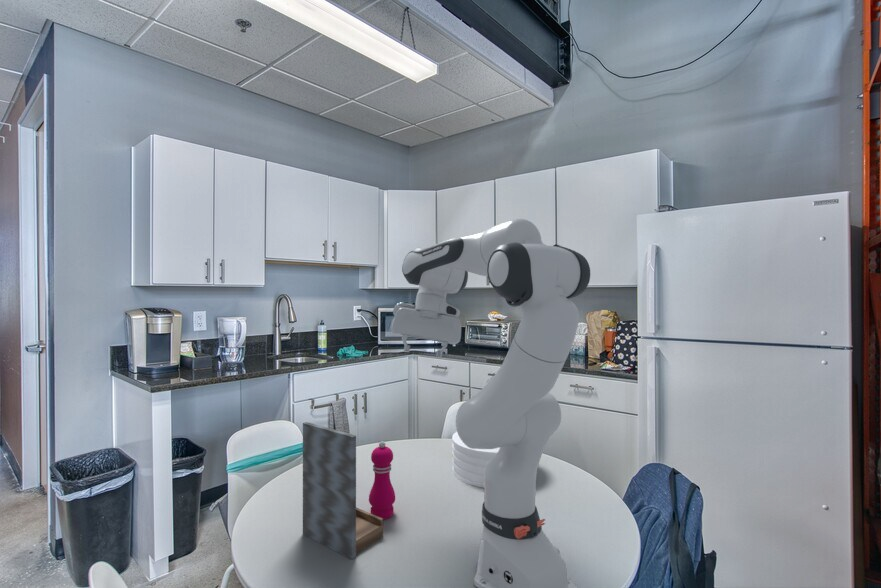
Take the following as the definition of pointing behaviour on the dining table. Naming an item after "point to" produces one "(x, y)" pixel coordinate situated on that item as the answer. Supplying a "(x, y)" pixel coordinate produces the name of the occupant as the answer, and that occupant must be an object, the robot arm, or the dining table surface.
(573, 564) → the dining table surface
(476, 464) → the plate stack
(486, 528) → the robot arm
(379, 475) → the pepper mill
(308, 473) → the ledge shelf
